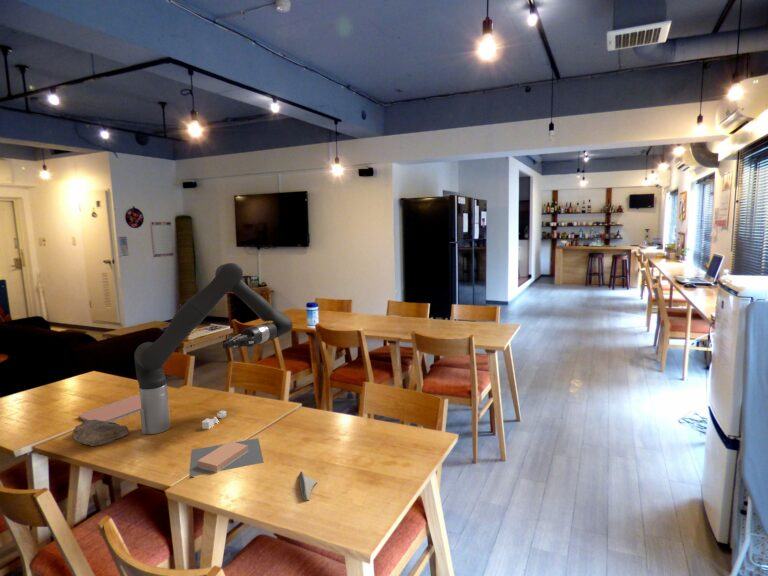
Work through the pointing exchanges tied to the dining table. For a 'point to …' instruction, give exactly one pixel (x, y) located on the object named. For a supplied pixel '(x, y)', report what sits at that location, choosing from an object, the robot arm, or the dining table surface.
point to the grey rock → (98, 432)
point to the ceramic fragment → (306, 486)
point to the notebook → (114, 410)
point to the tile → (222, 456)
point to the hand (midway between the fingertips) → (224, 346)
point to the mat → (247, 459)
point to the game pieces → (213, 420)
